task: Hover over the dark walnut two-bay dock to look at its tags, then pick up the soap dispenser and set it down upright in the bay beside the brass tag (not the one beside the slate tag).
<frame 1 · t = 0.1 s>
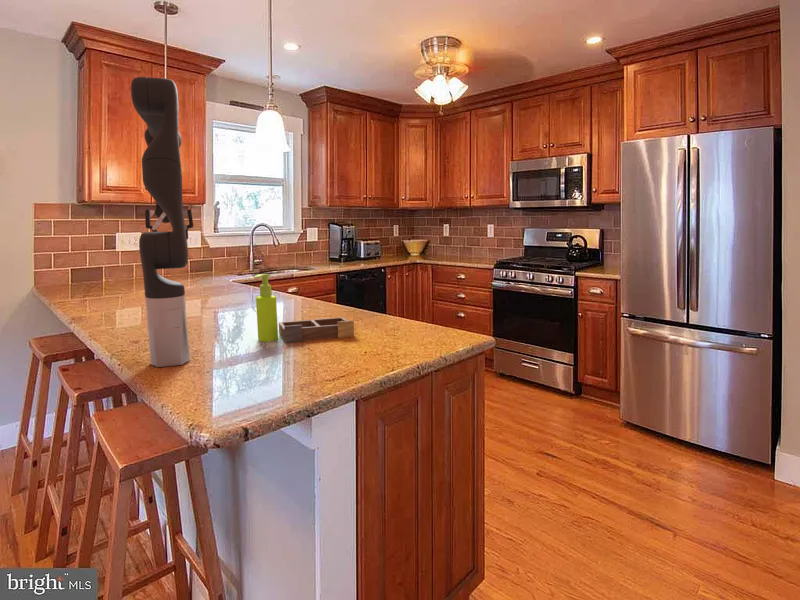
hand: (171, 241, 170), 29 cm above the worktop, fingers open, 8 cm apart
soap dispenser: (267, 340, 157), on the worktop
dock: (315, 334, 163), on the worktop
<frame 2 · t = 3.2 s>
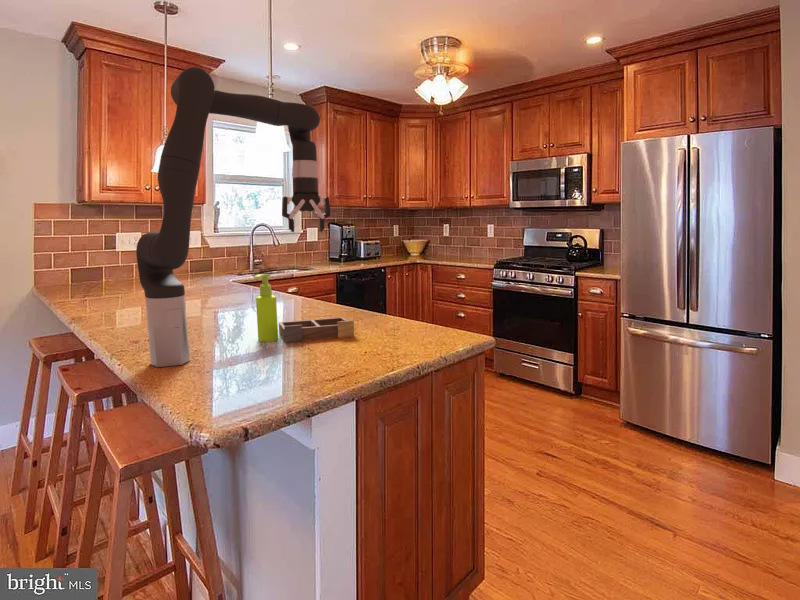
hand: (306, 231, 157), 32 cm above the worktop, fingers open, 8 cm apart
nothing on the worktop moved.
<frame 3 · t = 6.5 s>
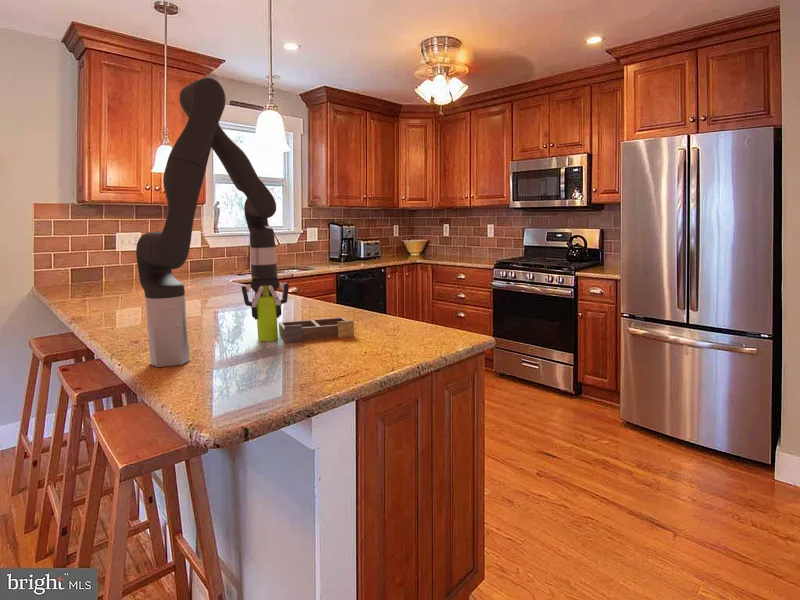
hand: (267, 317, 156), 7 cm above the worktop, fingers closed on soap dispenser, 6 cm apart
soap dispenser: (267, 340, 157), on the worktop, touching gripper
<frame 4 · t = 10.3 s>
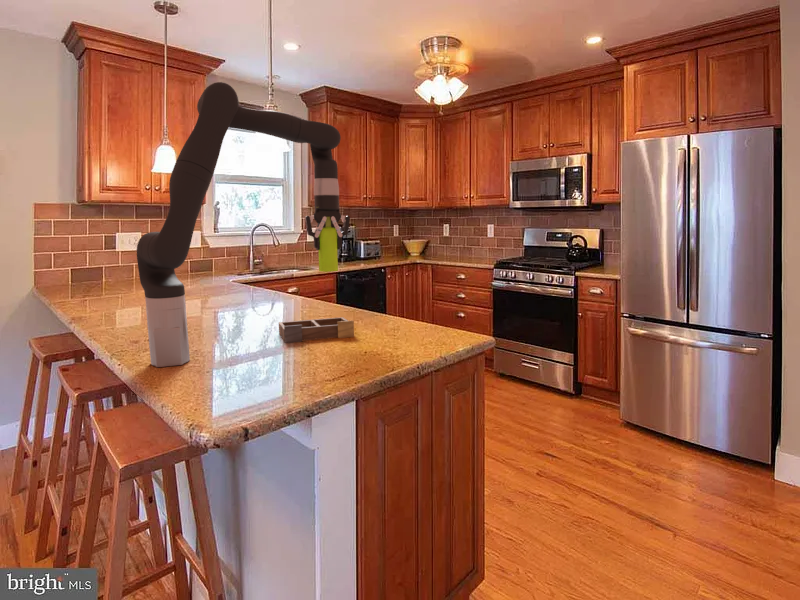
hand: (328, 249, 160), 27 cm above the worktop, fingers closed on soap dispenser, 6 cm apart
soap dispenser: (327, 271, 161), point 20 cm above the worktop, touching gripper
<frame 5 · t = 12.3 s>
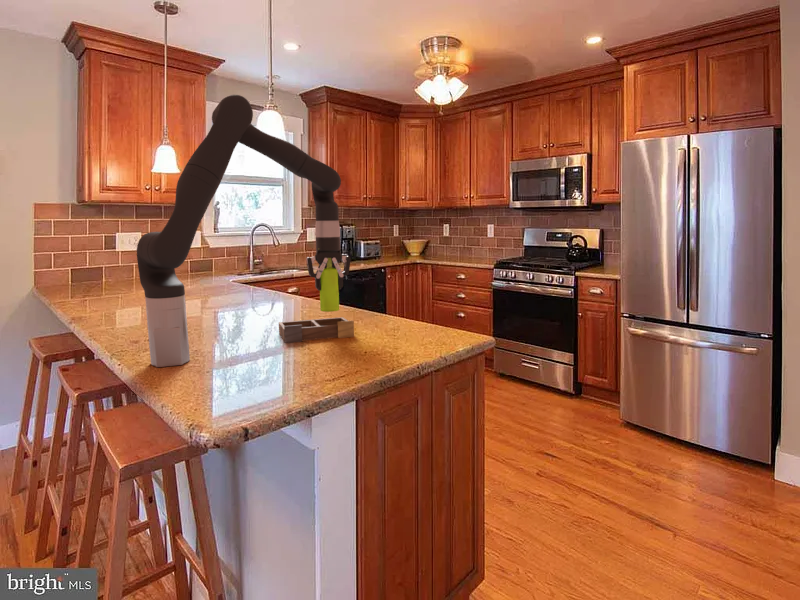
hand: (329, 289, 162), 14 cm above the worktop, fingers closed on soap dispenser, 6 cm apart
soap dispenser: (328, 311, 163), point 7 cm above the worktop, touching gripper
when the fingers open (8 cm above the worktop, at t = 14.1 s): soap dispenser stays where it is, resting on dock.
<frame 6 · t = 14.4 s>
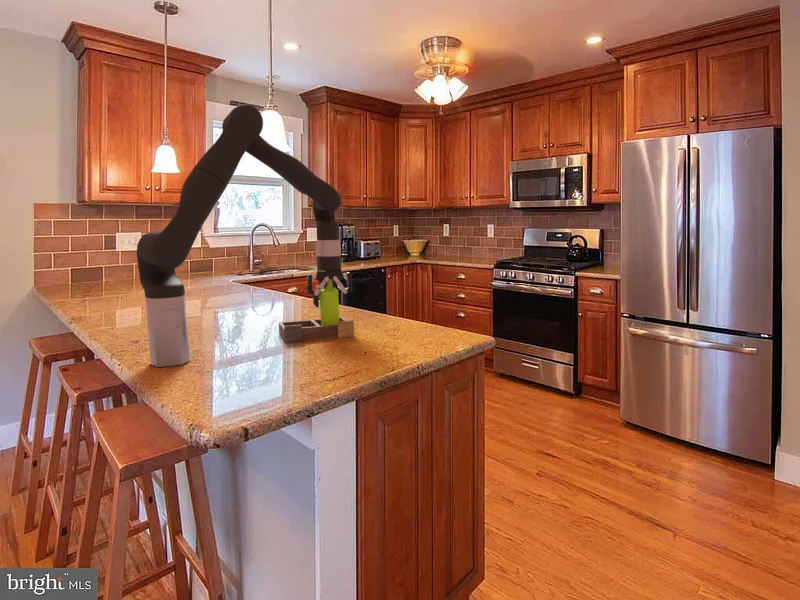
hand: (330, 306, 163), 9 cm above the worktop, fingers open, 8 cm apart
soap dispenser: (329, 331, 164), point 1 cm above the worktop, touching dock
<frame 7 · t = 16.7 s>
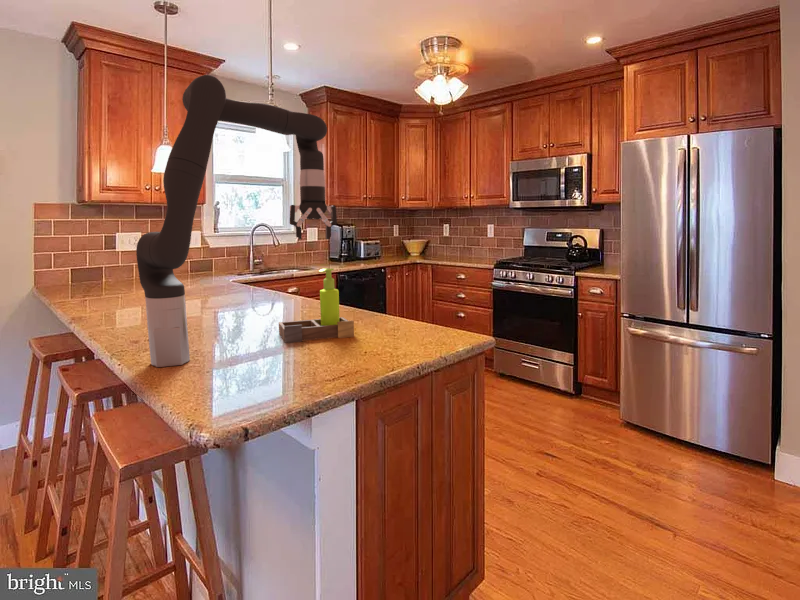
hand: (313, 239, 160), 30 cm above the worktop, fingers open, 8 cm apart
nothing on the worktop moved.
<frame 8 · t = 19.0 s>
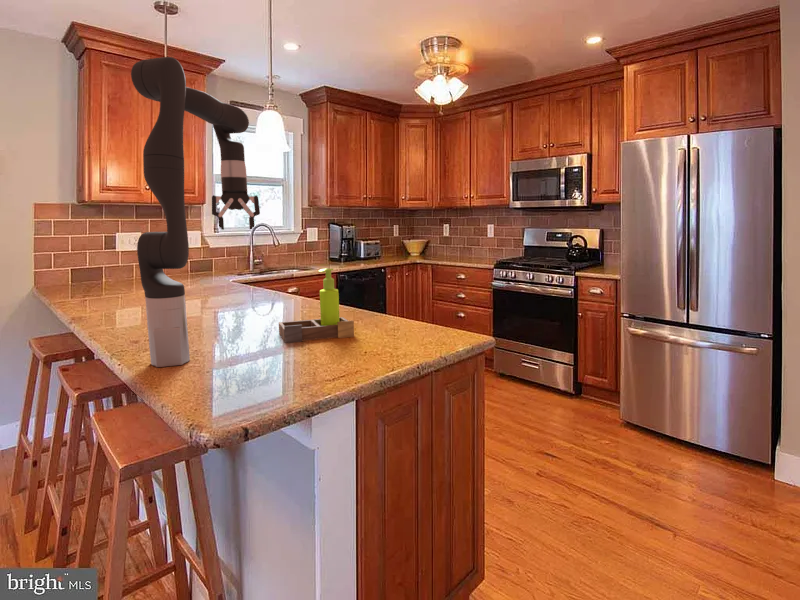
hand: (237, 229, 163), 33 cm above the worktop, fingers open, 8 cm apart
nothing on the worktop moved.
at the end: soap dispenser inside the target area on the dock (0.6 cm from its centre), point 0.6 cm above the dock's base; soap dispenser tilted 0°; the gripper is holding nothing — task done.
